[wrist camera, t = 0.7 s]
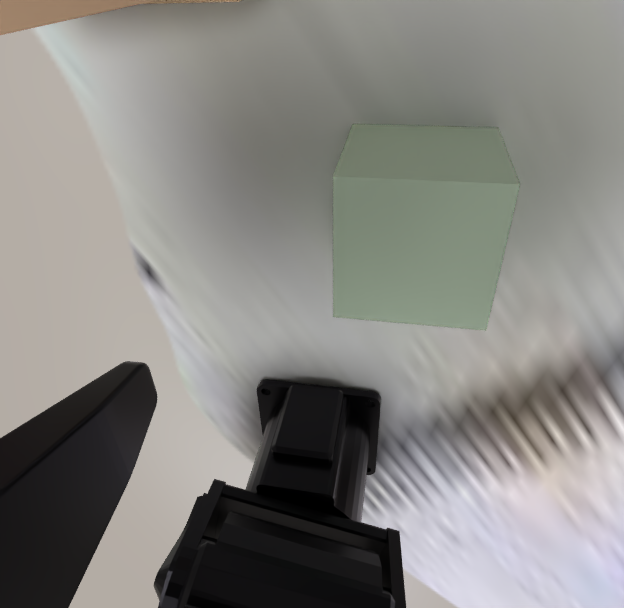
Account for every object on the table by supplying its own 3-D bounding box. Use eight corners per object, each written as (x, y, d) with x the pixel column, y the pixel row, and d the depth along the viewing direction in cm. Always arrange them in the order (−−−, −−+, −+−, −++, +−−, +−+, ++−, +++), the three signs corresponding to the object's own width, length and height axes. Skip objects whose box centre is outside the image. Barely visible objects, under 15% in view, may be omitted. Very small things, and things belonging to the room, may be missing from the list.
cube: (473, 252, 20) (486, 330, 16) (350, 244, 21) (333, 316, 17) (497, 126, 17) (520, 184, 13) (353, 123, 18) (333, 176, 14)
